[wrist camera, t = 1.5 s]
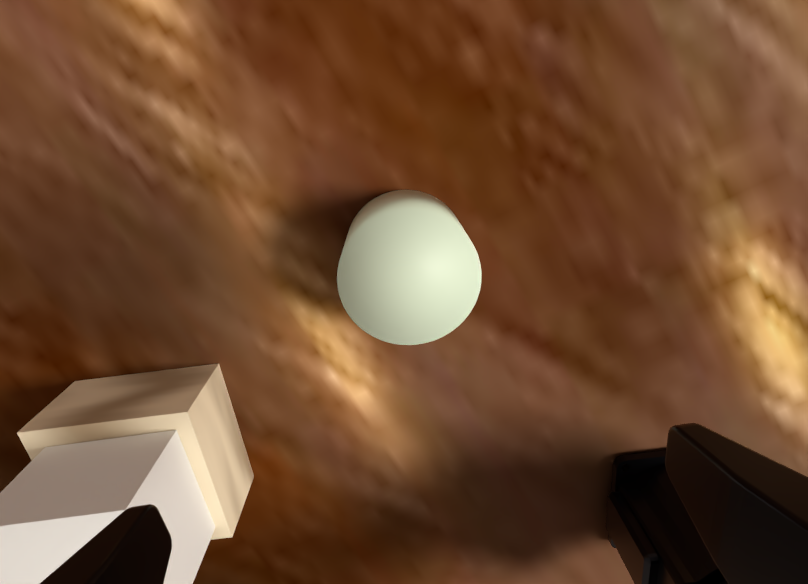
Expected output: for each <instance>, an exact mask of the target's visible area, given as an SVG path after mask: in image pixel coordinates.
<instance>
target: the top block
mask: <svg viewBox="0 0 808 584" xmlns="http://www.w3.org/2000/svg"><path fill="white" fill-rule="evenodd" d="M147 504H151V505H154V506H156V507H157V509H158V510H159V512H160V514H161V516H162V518H163V521H164V523H165V525H166V527H167V529H168V531H169V533H170V535H171V539H172V550H171V554H170V559H169V563H168V567H167V571H166V575H165V579H164V583H163V584H193V582H194V579H195V577H196V574H197V572H198V569H199V567H200V564H201V562H202V559H203V557H204V554H205V552H206V549H207V547H208V544H209V542H210V539H211V537H212V534H213V532H214V529H215V524H214V522H213V519H212V517H211V515H210V512H209V510H208V507H207V505H206V502H205V500H204V497H203V495H202V492H201V490H200V487H199V485H198V482H197V480H196V477H195V475H194V472H193V470H192V467H191V465H190V462H189V460H188V457H187V455H186V452H185V450H184V447H183V445H182V442H181V440H180V437H179V435H178V432H177V430H172V431H164V432H157V433H149V434H142V435H134V436H127V437H119V438H112V439H104V440H96V441H89V442H81V443H74V444H66V445H59V446H51V447H45V448H44V449H43V450H42V451H41V452H40V453H39V454H38V455H37V456H36V457H35V458H34V459H33V460H32V461H31V462H30V463H29V464H28V465H27V466H26V467H25V468H24V469H23V470H22V471H21V472H20V473H19V474H18V475H17V476H16V477H15V478H14V479H13V480H12V481H11V482H10V483H9V484H8V485H7V486H6V487H5V488H4V489H3V490H2V491H1V493H0V584H40V583H41V582H42V581H43V580H44V579H46V578H47V577H48V576H49V575H50V574H51V573H53V572H54V571H55V570H56V569H57V568H58V567H60V566H61V565H62V564H63V563H64V562H65V561H67V560H68V559H69V558H70V557H71V556H72V555H73V554H75V553H76V552H77V551H78V550H79V549H80V548H82V547H83V546H84V545H85V544H86V543H87V542H89V541H90V540H91V539H92V538H93V537H94V536H96V535H97V534H98V533H99V532H100V531H101V530H103V529H104V528H105V527H106V526H107V525H108V524H110V523H111V522H112V521H113V520H114V519H115V518H117V517H118V516H119V515H120V514H121V513H122V512H124V511H125V510H126V509H128V508H130V507H134V506H141V505H147Z"/></svg>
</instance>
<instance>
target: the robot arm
mask: <svg viewBox="0 0 808 584" xmlns="http://www.w3.org/2000/svg"><path fill="white" fill-rule="evenodd" d="M625 464H626V465H625ZM623 465H625V466H623ZM606 529H607V531H608V540H609V542H610V543H611V545H612V546H613V547H614V548H617V550H618V552H619V554H620V556H621V558H622V560H623V562H624V564H625V566H626V568H627V570H628V571H629V573H630V575H631V577H632V579H633V581H634V583H635V584H808V477H807V476H804V475H802V474H800V473H798V472H796V471H794V470H792V469H790V468H788V467H786V466H784V465H782V464H780V463H778V462H776V461H774V460H772V459H769V458H767V457H765V456H763V455H761V454H759V453H757V452H755V451H753V450H751V449H749V448H747V447H745V446H743V445H741V444H739V443H737V442H735V441H732V440H730V439H728V438H726V437H724V436H722V435H720V434H718V433H716V432H714V431H712V430H710V429H708V428H706V427H704V426H702V425H699V424H696V423H689V424H682V425H675V426H673V427H671V428H670V430H669V433H668V440H667V449H666V450H665V451H656V452H647V453H638V454H630V455H622V456H619V457H617V458H616V459H615V460H614V463H613V473H612V487H611V492H610V493H609V495H608V501H607V516H606ZM171 550H172V539H171V535H170V533H169V531H168V529H167V527H166V525H165V523H164V521H163V518H162V516H161V514H160V512H159V510H158V509H157V507H156V506H154V505H151V504H147V505H141V506H134V507H130V508H128V509H126V510H125V511H124V512H122V513H121V514H120V515H119V516H118V517H117V518H115V519H114V520H113V521H112V522H111V523H110V524H108V525H107V526H106V527H105V528H104V529H103V530H101V531H100V532H99V533H98V534H97V535H96V536H94V537H93V538H92V539H91V540H90V541H89V542H87V543H86V544H85V545H84V546H83V547H82V548H80V549H79V550H78V551H77V552H76V553H75V554H73V555H72V556H71V557H70V558H69V559H68V560H67V561H65V562H64V563H63V564H62V565H61V566H60V567H58V568H57V569H56V570H55V571H54V572H53V573H51V574H50V575H49V576H48V577H47V578H46V579H44V580H43V581H42V582H41V583H40V584H163V583H164V579H165V575H166V571H167V567H168V563H169V559H170V554H171Z"/></svg>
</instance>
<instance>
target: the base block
mask: <svg viewBox="0 0 808 584" xmlns="http://www.w3.org/2000/svg"><path fill="white" fill-rule="evenodd" d="M172 430H177V432H178V435H179V437H180V440H181V442H182V445H183V447H184V450H185V452H186V455H187V457H188V460H189V462H190V465H191V467H192V470H193V472H194V475H195V477H196V480H197V482H198V485H199V487H200V490H201V492H202V495H203V497H204V500H205V502H206V505H207V507H208V510H209V512H210V515H211V517H212V519H213V522H214V524H215V529H214V532H213V534H212V537H211V539H210V540H213V539H221V538H230V537H233V534H234V531H235V528H236V525H237V523H238V520H239V517H240V514H241V511H242V509H243V506H244V503H245V500H246V497H247V495H248V492H249V489H250V486H251V483H252V481H253V478H254V474H253V471H252V468H251V465H250V462H249V458H248V455H247V452H246V449H245V446H244V442H243V439H242V436H241V433H240V430H239V426H238V423H237V420H236V417H235V414H234V410H233V407H232V404H231V401H230V398H229V394H228V391H227V388H226V385H225V382H224V379H223V375H222V372H221V369H220V366H219V364H211V365H202V366H194V367H186V368H178V369H170V370H162V371H153V372H145V373H137V374H129V375H121V376H113V377H104V378H96V379H88V380H80V381H74V382H73V383H72V384H71V385H70V386H69V387H68V388H67V389H65V390H64V391H63V392H62V393H61V394H60V395H59V396H57V397H56V398H55V399H54V400H53V401H52V402H51V403H50V404H48V405H47V406H46V407H45V408H44V409H43V410H42V411H41V412H39V413H38V414H37V415H36V416H35V417H34V418H33V419H32V420H30V421H29V422H28V423H27V424H26V425H25V426H24V427H23V428H21V429H20V430H19V431H18V432H17V434H18V436H19V438H20V440H21V442H22V444H23V446H24V447H25V449H26V451H27V453H28V455H29V457H30V459H31V460H33V459H34V458H35V457H36V456H37V455H38V454H39V453H40V452H41V451H42V450H43V449H44V448H45V447H51V446H59V445H66V444H74V443H81V442H89V441H96V440H104V439H112V438H119V437H127V436H134V435H142V434H149V433H157V432H164V431H172Z"/></svg>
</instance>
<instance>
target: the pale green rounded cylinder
mask: <svg viewBox="0 0 808 584" xmlns="http://www.w3.org/2000/svg"><path fill="white" fill-rule="evenodd" d="M337 286H338V292H339V296H340V299H341V302H342V304H343V306H344V308H345V310H346V312H347V313H348V315H349V316H350V317H351V319H352V320H353V321H354V322H355V323H356V324H357V325H358V326H359V327H360V328H361V329H362V330H364V331H365V332H366V333H368V334H370V335H371V336H373V337H375V338H377V339H380V340H382V341H385V342H389V343H393V344H399V345H417V344H423V343H427V342H431V341H434V340H436V339H439V338H441V337H443V336H445V335H447V334H448V333H450V332H451V331H453V330H454V329H455V328H457V327H458V326H459V325H460V324H461V323H462V322H463V321H464V320H465V319H466V317H467V316H468V315H469V314H470V312H471V310H472V309H473V307H474V305H475V303H476V301H477V298H478V295H479V292H480V287H481V265H480V260H479V257H478V254H477V251H476V249H475V247H474V245H473V243H472V242H471V240H470V239H469V237H468V235H467V234H466V232H465V231H464V229H463V227H462V226H461V224H460V222H459V221H458V219H457V218H456V216H455V214H454V213H453V212H452V211H451V209H450V208H449V207H448V206H447V205H445V204H444V203H443V202H442V201H440V200H439V199H438V198H436V197H434V196H432V195H430V194H427V193H424V192H421V191H416V190H396V191H391V192H388V193H385V194H382V195H380V196H378V197H376V198H374V199H373V200H371V201H370V202H368V203H367V204H366V205H365V206H364V207H363V208H362V209H361V210H360V211H359V212H358V213H357V215H356V216H355V218H354V219H353V221H352V223H351V226H350V228H349V231H348V234H347V238H346V241H345V244H344V247H343V251H342V254H341V257H340V261H339V265H338V270H337Z"/></svg>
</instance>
